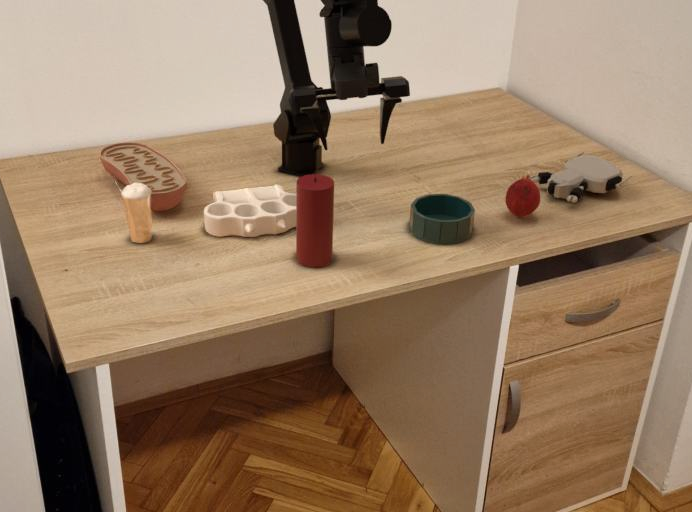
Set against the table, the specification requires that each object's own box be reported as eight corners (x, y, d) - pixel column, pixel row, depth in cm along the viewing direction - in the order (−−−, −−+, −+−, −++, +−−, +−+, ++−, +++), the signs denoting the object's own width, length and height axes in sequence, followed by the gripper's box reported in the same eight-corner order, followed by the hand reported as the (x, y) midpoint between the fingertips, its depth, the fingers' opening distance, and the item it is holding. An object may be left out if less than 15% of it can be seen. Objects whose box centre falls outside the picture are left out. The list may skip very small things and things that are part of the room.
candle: (290, 254, 147) (290, 173, 139) (322, 247, 149) (324, 167, 141) (305, 270, 142) (306, 188, 135) (338, 263, 145) (340, 181, 137)
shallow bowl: (401, 236, 152) (403, 213, 150) (421, 211, 160) (423, 189, 158) (461, 249, 149) (464, 226, 147) (478, 223, 157) (481, 200, 155)
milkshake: (123, 232, 151) (116, 174, 145) (156, 231, 151) (151, 174, 146) (120, 245, 147) (113, 187, 141) (154, 245, 148) (148, 187, 142)
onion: (536, 227, 156) (543, 183, 152) (501, 223, 157) (507, 179, 153) (537, 212, 161) (544, 169, 157) (503, 208, 162) (509, 165, 157)
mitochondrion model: (95, 174, 169) (91, 148, 166) (146, 163, 173) (144, 137, 170) (146, 225, 153) (143, 197, 150) (201, 211, 158) (199, 184, 155)
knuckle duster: (296, 195, 164) (321, 232, 153) (194, 206, 159) (212, 247, 148) (296, 177, 162) (321, 214, 151) (193, 188, 157) (211, 228, 146)
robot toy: (571, 218, 162) (632, 193, 168) (575, 194, 159) (636, 170, 165) (523, 191, 170) (583, 169, 176) (525, 168, 167) (586, 146, 174)
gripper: (286, 55, 138) (298, 160, 144) (411, 42, 139) (418, 147, 144) (285, 51, 149) (296, 150, 154) (401, 39, 149) (408, 138, 155)
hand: (354, 146), depth 152 cm, fingers open, 9 cm apart
